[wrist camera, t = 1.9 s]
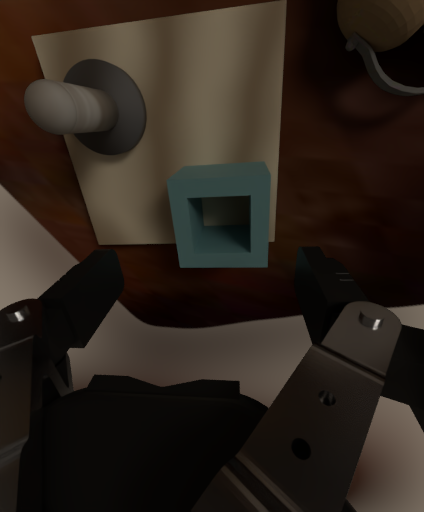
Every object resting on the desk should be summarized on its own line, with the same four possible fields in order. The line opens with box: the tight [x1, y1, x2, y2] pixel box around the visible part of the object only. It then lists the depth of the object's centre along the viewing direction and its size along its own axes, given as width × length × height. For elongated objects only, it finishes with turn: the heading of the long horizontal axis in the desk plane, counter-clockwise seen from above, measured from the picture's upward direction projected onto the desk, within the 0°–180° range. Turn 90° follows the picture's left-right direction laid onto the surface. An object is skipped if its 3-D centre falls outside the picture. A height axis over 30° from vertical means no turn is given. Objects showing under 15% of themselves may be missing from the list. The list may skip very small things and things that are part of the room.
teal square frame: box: [166, 161, 271, 268], centre depth 18 cm, size 6×6×5 cm
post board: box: [24, 0, 287, 245], centre depth 16 cm, size 16×15×8 cm
